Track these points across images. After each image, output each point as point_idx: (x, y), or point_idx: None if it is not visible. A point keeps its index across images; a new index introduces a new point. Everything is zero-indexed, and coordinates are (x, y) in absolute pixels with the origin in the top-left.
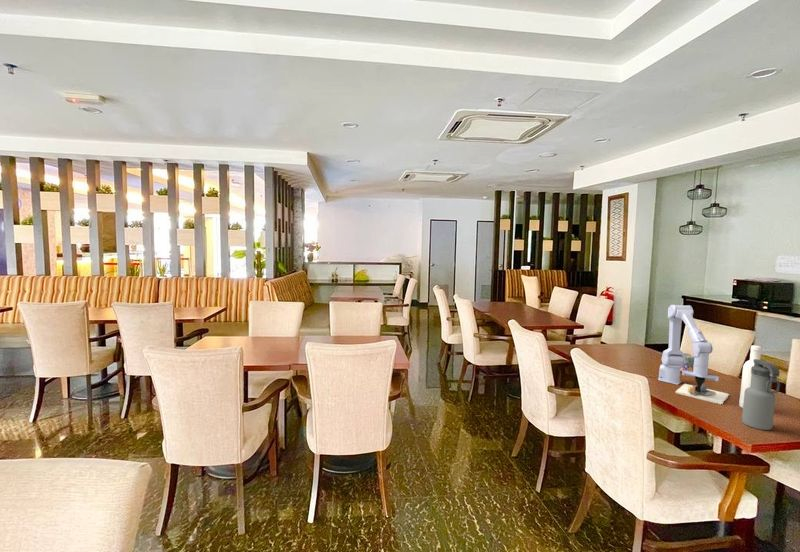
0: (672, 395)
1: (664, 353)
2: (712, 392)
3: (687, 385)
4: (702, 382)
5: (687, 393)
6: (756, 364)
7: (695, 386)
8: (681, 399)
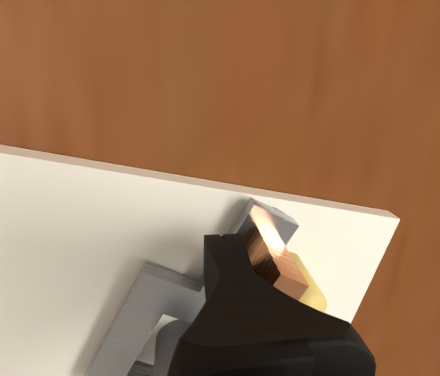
0: (432, 113)
1: None
2: (101, 363)
3: None
4: (208, 321)
5: (307, 223)
6: None
7: (276, 282)
8: (374, 28)
